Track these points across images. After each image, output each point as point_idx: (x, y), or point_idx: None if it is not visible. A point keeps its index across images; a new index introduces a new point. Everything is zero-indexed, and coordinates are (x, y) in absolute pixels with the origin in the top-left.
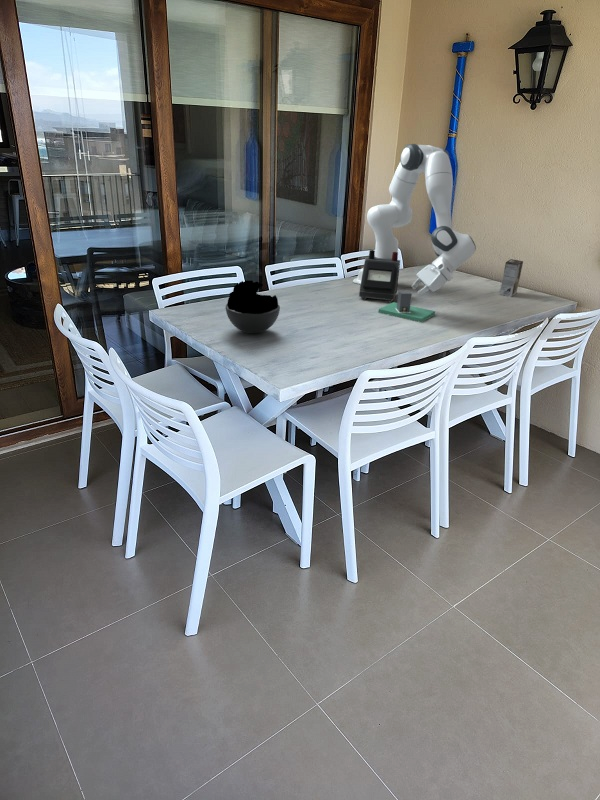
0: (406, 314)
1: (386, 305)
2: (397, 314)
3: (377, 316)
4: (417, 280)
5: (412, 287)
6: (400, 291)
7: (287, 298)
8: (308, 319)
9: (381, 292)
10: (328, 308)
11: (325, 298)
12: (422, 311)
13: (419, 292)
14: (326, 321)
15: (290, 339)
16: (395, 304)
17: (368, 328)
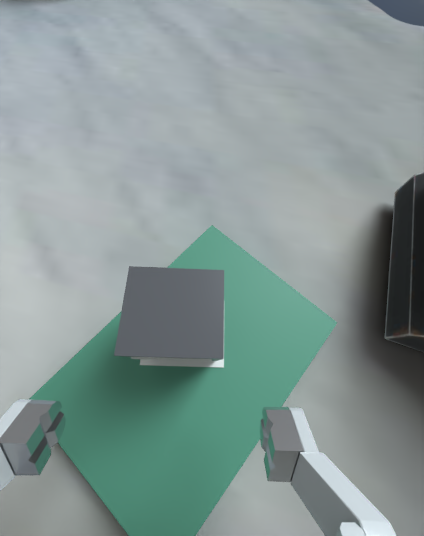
0: (117, 331)
1: (271, 271)
2: None
3: (158, 218)
4: (338, 529)
5: (263, 411)
6: (190, 275)
7: (337, 37)
8: (146, 51)
9: (418, 263)
10: (252, 101)
11: (366, 109)
12: (163, 457)
13: (7, 418)
14: (123, 80)
15: (7, 11)
16: (295, 322)
17: (28, 162)
